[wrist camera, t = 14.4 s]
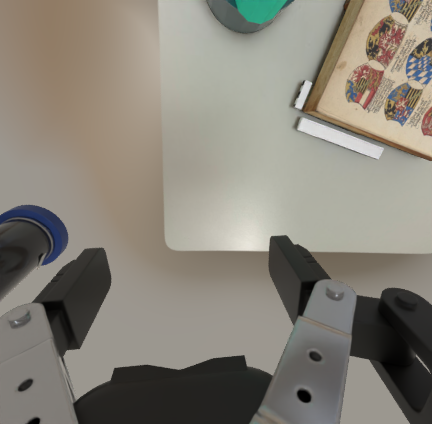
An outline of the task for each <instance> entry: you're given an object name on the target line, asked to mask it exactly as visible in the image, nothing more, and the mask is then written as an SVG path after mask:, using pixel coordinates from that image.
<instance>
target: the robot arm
mask: <svg viewBox="0 0 432 424" xmlns="http://www.w3.org/2000/svg"><path fill="white" fill-rule="evenodd" d="M54 247H55V240H54V236H53V234H52V232H51V231H50V230H49V228H48V227H47V226H46V225H44V224H43V223H42V222H40V221H38V220H36V219H34V218H31V217H26V216H17V217H12V218H10V219H8V220H6V221H4V222H3V223H2V224H0V301H2V299H4V297H6V296H7V295H8V294H9V293H10V292H11V291H12V290H13V289H14V288H15V287H16V286H17V285H18V284H19V283H20V282H21V281H23V280H24V279H25V278H26V277H27V276H28V274H30V273H31V272H32V271H33V270H34V269H35V268H36V267H37V266H38V268H39V267H40V266H41V264H42V262H43V261H44V260H45V259H46V258H48V257H49V256H50V255H51V253H52V252H53V250H54ZM38 268H37V269H38ZM269 272H270V276H271V278H272V280H273V282H274V284H275V287H276V289H277V291H278V293H279V295H280V297H281V300H282V302H283V304H284V306H285V308H286V310H287V312H288V314H289V317H290V319H291V321H292V323H293V325H294V327H293V330H292V332H291V335H290V337H289V340H288V342H287V344H286V347H285V349H284V351H283V354H282V356H281V359H280V361H279V363H278V366H277V368H276V370H275V373H274V375H273V376H272V375H270V374H269V373H267V372H264V371H262V370H260V369H256V368H253V367H247V365H246V361H245V356H244V355H243V356H232V357H222V358H213V359H210V360H207V361H204V362H202V363H199V364H196V365H194V366H190V367H187V368H185V369H181V370H176V369H170V368H164V367H157V366H151V365H140V366H130V367H120V368H114V371H113V375H112V378H111V380H110V381H108V382H105V383H103V384H101V385H99V386H97V387H95V388H94V389H92V390H90V391H89V392H87V393H86V394H84V395H83V396H81V397H80V398H79V399H78V400H77V397H76V394H75V391H74V388H73V384H72V382H71V378H70V376H69V372H68V369H67V366H66V363H65V360H64V358H63V356H64V354H65V352H66V351H67V350H74V349H80V347H81V345H82V343H83V341H84V339H85V337H86V335H87V333H88V331H89V329H90V327H91V325H92V323H93V321H94V319H95V317H96V315H97V313H98V311H99V309H100V307H101V305H102V303H103V301H104V299H105V297H106V295H107V293H108V291H109V289H110V286H111V273H110V269H109V265H108V261H107V256H106V252H105V250H104V248H89V249H85V250H84V251H83V252H82V253H81V254H80V255H79V257H78V258H77V259H76V260H73V261H71V262H70V263H68V264H67V265H65V266H64V267H62V269H61V270H60V271H59V272H58V273H57V274H56V276H55V277H54V278H53V279H52V280H51V282H50V283H48V285H47V286H46V287H45V288H44V289H43V290H42V291H41V293H40V294H39V295H38V296H37V297H36V298H35V300H34V301H33V302H32V303H29V304H24V305H21V306H18V307H16V308H14V309H12V310H10V311H8V312H7V313H5V314H4V315H3V316H1V317H0V424H340V417H341V411H342V404H343V397H344V390H345V383H346V376H347V369H348V362H349V356H355V357H359V358H364V359H369V360H370V362H371V363H372V365H373V367H374V368H375V370H376V371H377V373H378V374H379V376H380V377H381V379H382V381H383V382H384V384H385V385H386V387H387V388H388V390H389V391H390V393H391V394H392V396H393V398H394V399H395V401H396V402H397V404H398V405H399V407H400V408H401V410H402V412H403V413H404V415H405V416H406V418H407V420H408V421H409V423H410V424H432V305H431V304H430V303H429V302H427V301H426V300H425V299H424V298H422V297H420V296H419V295H417V294H415V293H413V292H411V291H408V290H405V289H400V288H387V289H385V290H383V291H382V294H381V298H380V299H379V298H372V297H364V296H359V295H356V293H355V291H354V290H353V289H352V288H351V287H350V286H348V285H347V284H345V283H343V282H340V281H337V280H332V279H331V278H330V277H329V276H328V274H327V273H326V272H325V271H324V269H323V268H322V267H321V266H320V265H319V264H318V263H317V261H316V260H315V259H314V257H312V255H311V254H310V253H309V251H308V250H307V249H305V248H304V247H302V246H300V245H299V244H297V245H294V244H293V243H292V241H291V240H290V239H289V238H288V236H287V235H283V236H271V238H270V246H269ZM416 354H417V356H418V357H419V358H420V359H421V360H422V361H423V362H424V364H425V365H426V366H427V368H428V369H429V371H430V373H431V374H430V373H429V372H428V370H427V369H426V368H425V367H424V366H423V365H422V363H421V362H420V361H419V360H418V358H417V357H416Z"/></svg>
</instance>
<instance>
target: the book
mask: <svg viewBox="0 0 432 424" xmlns="http://www.w3.org/2000/svg"><path fill="white" fill-rule="evenodd" d="M344 9H345V10H346V12H345V15H344V17H343V19H342V22H341V24H340V26H339V29H338V31H337V34H336V36H335V38H334V41H333V43H332V45H331V48H330V50H329V52H328V55H327V57H326V60H325V62H324V64H323V67H322V69H321V71H320V74H319V76H318V78H317V81H316V83H315V85H314V87H311V85H312V82H309V81H307V80H304V81H303V84H302V86H301V89H300V91H299V93H298V96H297V98H296V101H295V103H294V106H293V107H294V108H297V109H302V111H303V112H305V113H308V114H309V115H312V116H315V117H316V118H318V119H322V120H323V121H327V122H329V123H331V124H333V125H335V126H339V127H341V128H343V129H346V130H348V131H351V132H353V133H356V134H360V135H364V136H367V137H370V138H372V139H375V140H377V141H380V142H382V143H385V144H388V145H390V146H392V147H395V148H397V149H401V150H403V151H406V152H408V153H411V154H412V155H416V156H419V157H421V158H424V159H426V160H429V161H432V0H346V2H345V5H344ZM296 130H299V131H302V132H304V133H307V134H310V135H312V136H315V137H318V138H320V139H323V140H326V141H328V142H331V143H334V144H337V145H339V146H342V147H345V148H347V149H350V150H353V151H355V152H358V153H361V154H364V155H366V156H369V157H372V158H374V159H379V157H380V155H381V153H382V151H383V150H384V148H382V147H379V146H376V145H374V144H371V143H369V142H366V141H363V140H361V139H358V138H356V137H353V136H350V135H348V134H345V133H342V132H340V131H337V130H335V129H332V128H329V127H327V126H324V125H322V124H319V123H316V122H314V121H311V120H309V119H306V118H303V117H301V119H300V121H299V123H298V126H297V128H296Z"/></svg>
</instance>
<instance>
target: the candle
mask: <svg viewBox="0 0 432 424" xmlns="http://www.w3.org/2000/svg"><path fill="white" fill-rule="evenodd" d="M235 1H236V4H237V8H238V11H239V12H240V13H241V14H242V15H243V16H244V18H245V19H246V20H247V21H249V22H254V23H258V24H262V23H264V22H266V21H268V20H271V19H273V18H274V16H275V15H276V14H277V13H278V11H279V10H280V9H281V8H282V6H283V5H284V4H285V3H286V1H287V0H235Z"/></svg>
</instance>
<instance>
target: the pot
mask: <svg viewBox="0 0 432 424" xmlns="http://www.w3.org/2000/svg"><path fill="white" fill-rule="evenodd" d="M207 2H208V4H209V7H210V9H211V11H212V12H213V14H214V15H215V17H216V18H217V19H218V20H219V21H220V22H221V23H222V24H223V25H224V26H225V27H227V28H229V29H230V30H233V31H235V32H240V33H252V32H256V31H258V30H261V29H263V28H264V27H266V26H267V25H269V24H270V23H271V22H272V21H273V20H274V19H275V17H276V16H277V15H278V14H279V13H280V12H281V11H279V12H278V13H277V14H276V15H275V16H274V18H273V19H271V20H268V21H266V22H264V23H262V24H258V23H254V22H249V21H247V20H246V19H245V18H244V16H243V15H242V14H241V13H240V12H239V11H237V10H235V9H233V8H232V7H231V6H229V5H228V4H227V3H226V2H225V1H224V0H207Z"/></svg>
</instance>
